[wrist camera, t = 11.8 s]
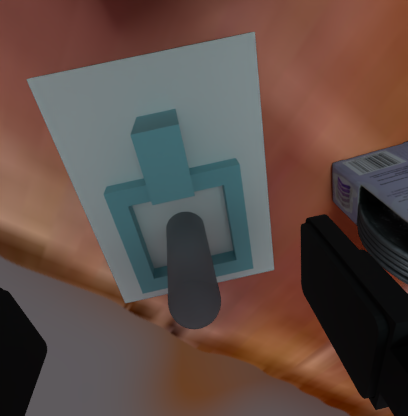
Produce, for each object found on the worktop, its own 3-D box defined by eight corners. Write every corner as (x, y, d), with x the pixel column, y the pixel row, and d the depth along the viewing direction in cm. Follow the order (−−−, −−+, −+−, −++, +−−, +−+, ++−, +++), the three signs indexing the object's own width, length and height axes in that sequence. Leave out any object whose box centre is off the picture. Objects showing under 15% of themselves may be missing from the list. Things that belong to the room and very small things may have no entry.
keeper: (32, 77, 21) (-88, 109, 11) (250, 32, 22) (331, 22, 11) (126, 294, 32) (109, 414, 22) (270, 262, 33) (321, 364, 22)
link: (84, 128, 22) (65, 149, 18) (227, 97, 23) (242, 110, 18) (143, 282, 30) (140, 323, 26) (249, 258, 30) (264, 294, 26)
